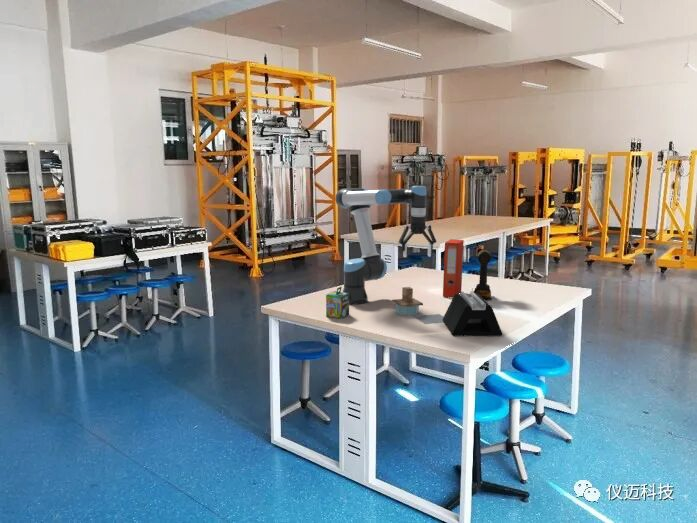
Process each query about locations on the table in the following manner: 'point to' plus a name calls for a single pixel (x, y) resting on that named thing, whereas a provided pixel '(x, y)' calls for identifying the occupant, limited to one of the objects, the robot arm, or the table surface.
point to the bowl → (407, 310)
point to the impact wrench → (483, 275)
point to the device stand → (471, 317)
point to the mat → (430, 318)
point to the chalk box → (337, 304)
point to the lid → (407, 298)
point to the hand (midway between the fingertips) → (417, 256)
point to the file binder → (453, 267)
